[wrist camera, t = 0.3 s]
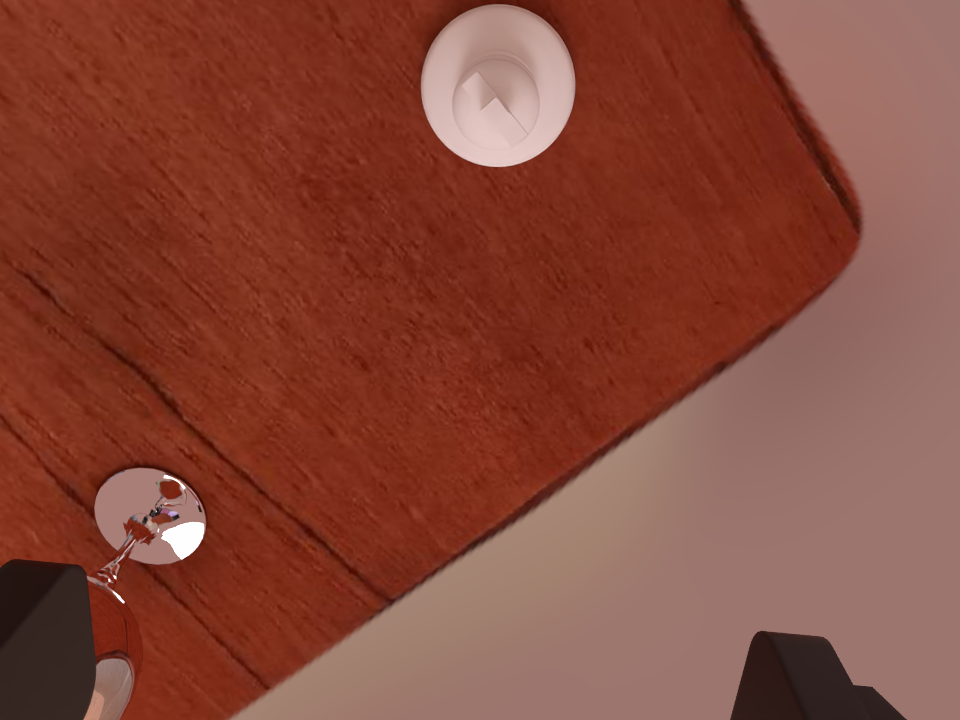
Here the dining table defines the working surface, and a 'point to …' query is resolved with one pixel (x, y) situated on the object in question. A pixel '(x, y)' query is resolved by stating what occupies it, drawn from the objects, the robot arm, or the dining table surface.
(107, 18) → the dining table surface
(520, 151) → the chess piece
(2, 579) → the robot arm
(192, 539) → the wineglass
